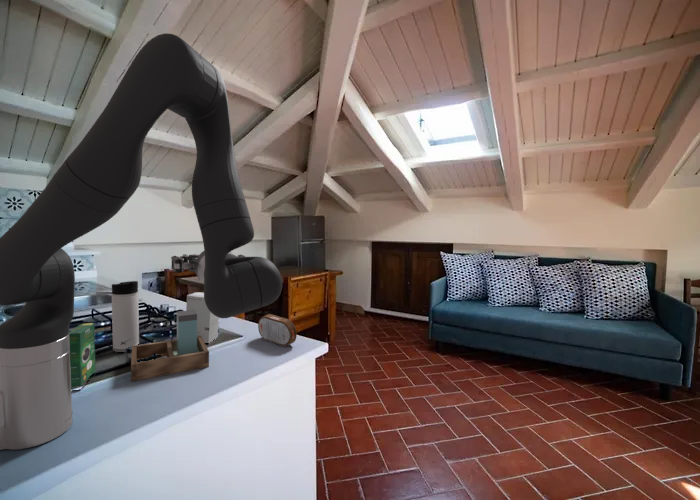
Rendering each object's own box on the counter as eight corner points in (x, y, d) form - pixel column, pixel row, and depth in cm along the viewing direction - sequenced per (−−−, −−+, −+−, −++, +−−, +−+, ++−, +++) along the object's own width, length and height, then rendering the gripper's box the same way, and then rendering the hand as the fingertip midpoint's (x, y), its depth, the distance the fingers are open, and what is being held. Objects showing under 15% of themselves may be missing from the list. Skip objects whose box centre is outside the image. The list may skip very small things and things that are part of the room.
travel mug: (126, 354, 91) (125, 283, 89) (107, 351, 92) (105, 281, 90) (145, 346, 97) (144, 279, 95) (126, 343, 98) (125, 278, 96)
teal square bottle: (178, 360, 86) (178, 316, 84) (176, 354, 89) (176, 311, 88) (196, 357, 88) (196, 314, 87) (194, 351, 92) (194, 309, 90)
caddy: (131, 381, 76) (131, 365, 76) (132, 360, 87) (132, 345, 87) (208, 366, 86) (209, 351, 85) (201, 349, 97) (201, 335, 96)
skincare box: (184, 342, 101) (184, 295, 100) (195, 335, 107) (195, 291, 106) (210, 344, 100) (210, 297, 99) (219, 337, 106) (220, 292, 105)
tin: (297, 346, 102) (297, 320, 101) (290, 349, 99) (290, 323, 98) (263, 335, 110) (263, 311, 109) (256, 338, 107) (256, 313, 106)
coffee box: (82, 375, 78) (80, 322, 77) (96, 373, 79) (95, 321, 78) (65, 392, 71) (63, 333, 70) (81, 390, 72) (80, 333, 71)
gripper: (258, 248, 64) (237, 242, 77) (176, 249, 56) (169, 242, 69) (257, 286, 64) (237, 273, 78) (176, 292, 56) (169, 276, 70)
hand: (205, 258), depth 74 cm, fingers open, 8 cm apart
